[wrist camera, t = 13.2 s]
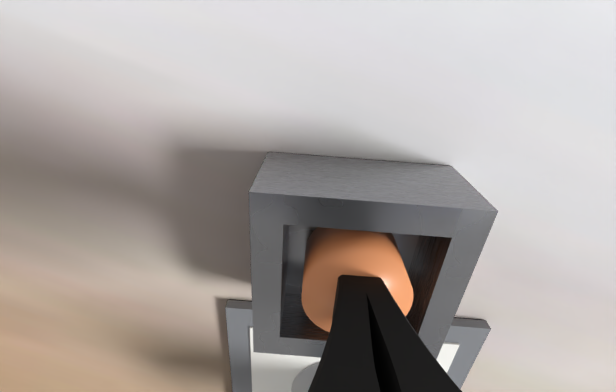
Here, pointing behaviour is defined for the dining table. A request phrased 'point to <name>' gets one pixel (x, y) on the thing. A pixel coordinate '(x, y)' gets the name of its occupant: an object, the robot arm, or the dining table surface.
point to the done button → (350, 268)
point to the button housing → (365, 217)
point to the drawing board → (300, 369)
